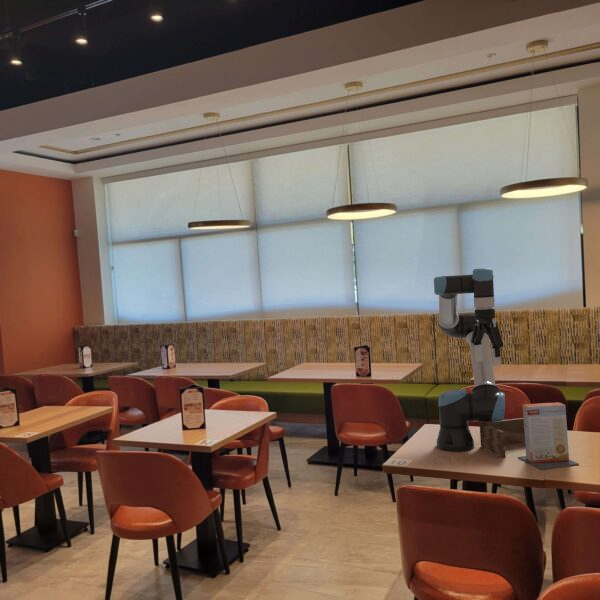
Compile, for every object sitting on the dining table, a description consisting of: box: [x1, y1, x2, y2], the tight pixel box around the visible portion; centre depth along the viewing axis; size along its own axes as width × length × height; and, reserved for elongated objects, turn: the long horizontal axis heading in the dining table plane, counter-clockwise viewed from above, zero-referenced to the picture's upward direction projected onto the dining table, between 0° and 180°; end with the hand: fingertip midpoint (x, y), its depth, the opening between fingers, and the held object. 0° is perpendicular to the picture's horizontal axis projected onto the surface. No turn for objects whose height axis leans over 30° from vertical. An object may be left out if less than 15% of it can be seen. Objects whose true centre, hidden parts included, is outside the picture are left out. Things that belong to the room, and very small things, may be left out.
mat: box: [517, 455, 580, 471], centre depth 214 cm, size 15×15×1 cm
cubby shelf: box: [479, 417, 525, 459], centre depth 232 cm, size 17×28×10 cm, turn 100°
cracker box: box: [522, 402, 570, 463], centre depth 214 cm, size 14×6×21 cm, turn 86°
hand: (487, 363), depth 221 cm, fingers open, 13 cm apart
